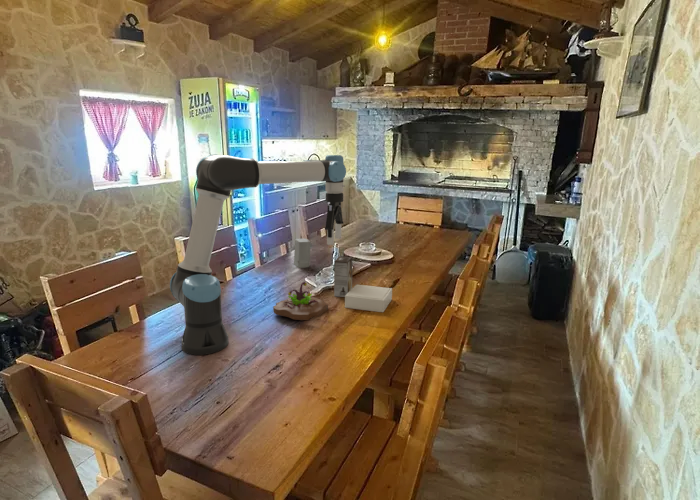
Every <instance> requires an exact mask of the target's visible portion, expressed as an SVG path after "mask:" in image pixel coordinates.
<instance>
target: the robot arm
mask: <svg viewBox="0 0 700 500" xmlns="http://www.w3.org/2000/svg"><path fill="white" fill-rule="evenodd" d="M195 174H196V177H197V182H196V186H195V190H196V192H197V193H198V198H197V200H196V201H197V202H196V206H195V210H194V215H193V219H192V223H191V228H190V231H189V237H188V241H187V245H186V249H185V254H184V258H183V260H182V261H181V262H179V263H177V268H176V271H175V273H173V275H172V276H171V278H170V280H169V281H170V282H169V289H170V292H171V295H172V296H173V297H174V298H175V299H176V301H178V303H180V305H182V307H183V310H184V321H185V322H184V323H185V327H184V331H183V333H182V339H181V342H180V343H181V350H182V351H183V352H184V353H186V354H189V355H194V356H203V355H205V356H206V355H210V354H213V353H217V352H220V351H222V350H223V349H225V348H226V347H227V346H228V344H229V335H228V333H227V331H226V328H225V325H224V322H223V316H222V315H223V313H222V294H221V293H222V287H221V284H220V280H219V278H217V277H216V276H214V275H212V272H213V271H212V268H210V261H211V258H212V253H213V249H214V244H215V240H216V236H217V232H218V228H219V223H220V219H221V216H222V215H221V214H222V211H223V207H224V202H225V200H227V199H229V198H230V196H231V192H232V191H236V190H240V189H241V190H242V189H248V188H258V186H259V185H266V184H268V185H269V184H287V183H289V184H291V183H313V182H315V183H316V182H325V192H326V193H325V202H327V203H330V204H329V205H327V213H326V220H325V221H326V222H325V227H324V230H326V231H327V232H326V245H328V246H334V245H335V239H340V240H341V239H342V224H344V220H343V219H344V218H343V211H342V202H344V187H345V186H346V185H345V184H344V179H345V177H346V175H347V168H346V165H345V164H344V157H343V155H341V154H340V155H338V154H326V155H325V159H305V160H298V161H297V160H295V161H294V160H293V161H292V160H291V161H287V160H285V161H284V160H283V161H281V160H280V161H276V160H275V161H258V160H257V159H256V158H245V157H238V156H233V155H227V154H224V155H223V154H216V153H215V154H208V155H206V156H205V157H203V158H201V159H200V160H199V162H198V163H197V165H196V169H195Z"/></svg>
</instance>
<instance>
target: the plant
mask: <svg viewBox="0 0 700 500" xmlns="http://www.w3.org/2000/svg"><path fill="white" fill-rule="evenodd" d="M307 285H308V283H307V281H303V282H301V284H300V286H299V287H300V288H299V290H296V289H291V290H290V291H288V292H287V293H288V294H287V295H288V296H287V298H286V299H284V300H280V301H279V302H278V301H277V302H276V303H275V305H273V307H272V308H273V310H272V311H273V313H274V314H275V315H276V316H281V317H282V316H283V317H286V318H289V319H291V320H294V321H295V320H298V321H309V320H310V319H312V318H317V317H320V316H321V315H322V314H323V313H324V312H326V311H328V309H329V304H328V303H327V302H326V301H325V300H324V299H320V298H318V297H312V296H313V293H311V292H310V291H308V290H305V291H303V286H305V287H306V286H307ZM292 292H295V294H294V293H292Z"/></svg>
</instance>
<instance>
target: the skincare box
mask: <svg viewBox="0 0 700 500" xmlns="http://www.w3.org/2000/svg"><path fill="white" fill-rule="evenodd" d="M311 245H312V244H311V241H310V240H309V239H307V238H306V237H305V238H295V239H294V255H293V265H294V266H295V267H296V268H297V269H305V268H310V264H311V261H310V260H311Z"/></svg>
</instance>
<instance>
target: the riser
mask: <svg viewBox="0 0 700 500" xmlns="http://www.w3.org/2000/svg"><path fill="white" fill-rule="evenodd" d="M392 299H393V287H385V286H384V287H381V286H373V285H366V284H365V285H364V284H356V283H355V285H354V286H352V289H351V290H350V291H349V292H348V293H347V294H346V295H345V297H344V308H347V309H352V310H353V309H354V310H362V311H370V312H378V313H384V312H385V310H386V309H387V307H388V306H389V304H390V303H391V302H392Z"/></svg>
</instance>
